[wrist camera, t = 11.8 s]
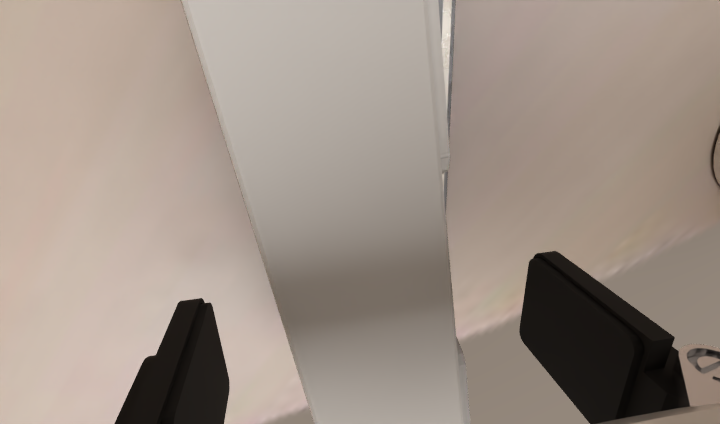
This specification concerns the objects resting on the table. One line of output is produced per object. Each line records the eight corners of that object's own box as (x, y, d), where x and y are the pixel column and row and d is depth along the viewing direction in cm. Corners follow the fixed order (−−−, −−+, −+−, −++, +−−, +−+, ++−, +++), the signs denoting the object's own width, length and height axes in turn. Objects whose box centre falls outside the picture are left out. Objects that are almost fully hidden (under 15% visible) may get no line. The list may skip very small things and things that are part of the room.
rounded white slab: (405, 300, 34) (521, 525, 18) (320, 323, 34) (362, 581, 17) (347, -92, 23) (524, -457, 6) (215, -73, 22) (38, -439, 6)
